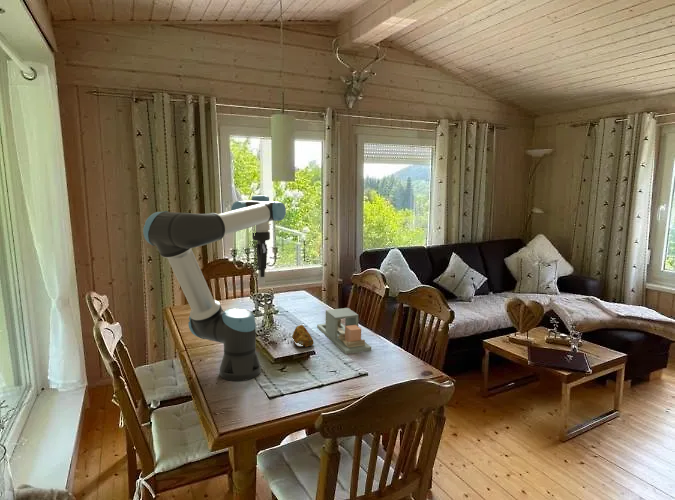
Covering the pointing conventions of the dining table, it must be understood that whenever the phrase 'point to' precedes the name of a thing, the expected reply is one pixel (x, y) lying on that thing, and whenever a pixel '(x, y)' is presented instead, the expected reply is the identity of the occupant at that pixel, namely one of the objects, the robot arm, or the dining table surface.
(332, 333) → the tunnel deck
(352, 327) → the block
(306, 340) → the rock
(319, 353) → the dining table surface
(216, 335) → the robot arm
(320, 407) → the dining table surface
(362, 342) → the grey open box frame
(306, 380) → the dining table surface
